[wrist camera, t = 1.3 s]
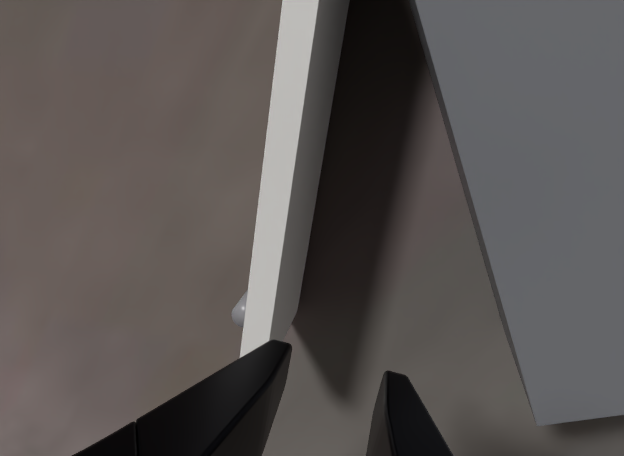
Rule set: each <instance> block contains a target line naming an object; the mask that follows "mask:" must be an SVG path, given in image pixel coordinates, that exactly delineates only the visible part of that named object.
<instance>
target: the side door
mask: <svg viewBox="0 0 624 456" xmlns="http://www.w3.org/2000/svg"><path fill="white" fill-rule="evenodd" d="M349 1H350V0H283V2H282V10H281V19H280V27H279V35H278V44H277V52H276V60H275V69H274V77H273V85H272V94H271V102H270V110H269V119H268V127H267V135H266V144H265V152H264V160H263V169H262V177H261V185H260V194H259V202H258V210H257V219H256V227H255V235H254V244H253V252H252V260H251V269H250V277H249V286H248V290H247V291H246V293H245V294H244V295H243V297H242V298H241V299H240V301H239V302H238V303H237V305H236V306H235V308H234V309H233V310H232V319H233V321H234V322H235V323H236V324H237V325H238V326H240V327H243V336H242V344H241V352H240V358H241V357H243V356H244V355H246V354H248V353H249V352H251V351H253V350H254V349H256V348H258V347H259V346H261V345H263V344H264V343H266V342H268V341H270V340H272V339H275V340H279V341H282V342H283V340H284V338H285V336H286V334H287V332H288V330H289V327H290V325H291V323H292V321H293V319H294V317H295V315H296V313H297V310H298V304H299V299H300V293H301V287H302V281H303V275H304V269H305V263H306V257H307V251H308V245H309V239H310V233H311V227H312V221H313V215H314V209H315V203H316V197H317V191H318V185H319V180H320V174H321V168H322V162H323V156H324V150H325V144H326V138H327V132H328V126H329V120H330V114H331V108H332V102H333V96H334V90H335V84H336V78H337V72H338V67H339V61H340V55H341V49H342V43H343V37H344V31H345V25H346V19H347V13H348V7H349Z"/></svg>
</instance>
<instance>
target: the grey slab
mask: <svg viewBox="0 0 624 456" xmlns="http://www.w3.org/2000/svg"><path fill="white" fill-rule="evenodd" d="M409 3H410V7H411V10H412V13H413V17H414V20H415V24H416V27H417V31H418V34H419V38H420V41H421V45H422V48H423V51H424V55H425V58H426V62H427V65H428V69H429V72H430V76H431V79H432V83H433V86H434V89H435V93H436V96H437V100H438V103H439V107H440V110H441V114H442V117H443V121H444V124H445V127H446V131H447V134H448V138H449V141H450V145H451V148H452V152H453V155H454V159H455V162H456V165H457V169H458V172H459V176H460V179H461V183H462V186H463V190H464V193H465V197H466V200H467V203H468V207H469V210H470V214H471V217H472V221H473V224H474V228H475V231H476V235H477V238H478V241H479V245H480V248H481V252H482V255H483V259H484V262H485V266H486V269H487V273H488V276H489V279H490V283H491V286H492V290H493V293H494V297H495V300H496V304H497V307H498V311H499V314H500V317H501V321H502V324H503V328H504V331H505V334H506V337H507V340H508V343H509V346H510V348H511V351H512V354H513V357H514V360H515V363H516V366H517V369H518V372H519V375H520V378H521V381H522V384H523V387H524V389H525V392H526V395H527V398H528V401H529V404H530V407H531V410H532V413H533V416H534V419H535V422H536V425H537V426H542V425H550V424H558V423H565V422H573V421H580V420H588V419H595V418H603V417H610V416H618V415H624V0H409Z"/></svg>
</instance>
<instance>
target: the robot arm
mask: <svg viewBox="0 0 624 456" xmlns="http://www.w3.org/2000/svg"><path fill="white" fill-rule="evenodd" d="M291 352H292V346H291V344H289V343H286V342H282V341H279V340H275V339H272V340H270V341H268V342H266V343H264V344H263V345H261V346H259V347H258V348H256V349H254V350H253V351H251V352H249V353H248V354H246V355H244V356H243V357H241V358H239V359H237V360H236V361H234V362H232V363H231V364H229V365H227V366H226V367H224V368H222V369H221V370H219V371H217V372H216V373H214V374H212V375H211V376H209V377H207V378H205V379H204V380H202V381H200V382H199V383H197V384H195V385H194V386H192V387H190V388H189V389H187V390H185V391H184V392H182V393H180V394H179V395H177V396H175V397H173V398H172V399H170V400H168V401H167V402H165V403H163V404H162V405H160V406H158V407H157V408H155V409H153V410H152V411H150V412H148V413H147V414H145V415H143V416H141V417H140V418H138V419H137V420H136V422H131V423H129V424H128V425H126V426H124V427H123V428H121V429H119V430H118V431H116V432H114V433H112V434H111V435H109V436H107V437H105V438H103V439H102V440H100V441H98V442H96V443H95V444H93V445H91V446H89V447H87V448H86V449H84V450H82V451H80V452H78V453H76V454H74V455H72V456H262V453H263V451H264V448H265V445H266V442H267V439H268V436H269V433H270V430H271V427H272V424H273V421H274V418H275V415H276V412H277V409H278V406H279V403H280V400H281V397H282V394H283V391H284V387H285V384H286V380H287V374H288V369H289V363H290V358H291ZM366 456H453V454H452V452H451V451H450V449H449V447H448V445H447V444H446V442H445V440H444V439H443V437H442V435H441V433H440V432H439V430H438V428H437V427H436V425H435V423H434V421H433V420H432V418H431V416H430V415H429V413H428V411H427V409H426V408H425V406H424V404H423V403H422V401H421V399H420V397H419V396H418V394H417V392H416V391H415V389H414V387H413V385H412V384H411V382H410V380H409V379H408V377H407V376H406V375H403V374H399V373H396V372H392V371H386V372H385V373H384V375H383V378H382V381H381V385H380V388H379V392H378V396H377V399H376V403H375V407H374V411H373V416H372V422H371V429H370V435H369V441H368V447H367V453H366Z"/></svg>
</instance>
